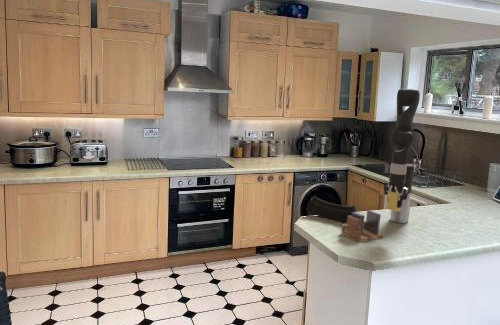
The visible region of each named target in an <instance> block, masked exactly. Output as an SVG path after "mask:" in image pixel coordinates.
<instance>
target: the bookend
mask: <svg viewBox="0 0 500 325" xmlns="http://www.w3.org/2000/svg"><path fill="white" fill-rule="evenodd" d="M381 218H382V216H381V214H380V213H377V212H375V211H372V210H367V211H366V218H365V219H366V220H365V221H366V227H365V229H367V230H369V231H371V232H373V233H376V234H379V233H380V225H381Z"/></svg>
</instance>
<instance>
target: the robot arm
mask: <svg viewBox="0 0 500 325" xmlns="http://www.w3.org/2000/svg"><path fill="white" fill-rule="evenodd" d="M420 96H421V94H420V91H419V89H417V88H399V89H398V91H397V92H396V126H395V128H394V129H393V131H392V133H391V135H390V137H389V141H390V144H392V145H393V146H395V148H394V151H392V154H391V164H390V170H389V177H388V178H389V179H388V180H389V182H384V183H383V192H384V195H385V196H386V203H387V202H388V194H389V191H392V192H395V193H397V194H398V203H397V207H398V208H401V211H396V212H395V211H392V210H390V217H389V220H390V221H391V222H394V223H398V224H406V223H407V222H409V220H410V219H409V218H410V209H411V204H410V203H411V202H410V201H411V196H412V195H411V194H412V193H411V192H412V187H413V181H414V176H415V166H414V165H413V164H410V163H408V159H409V158H408V156H409V153H410V149H411V147H412V146H413V143H414V140H415V136H414V135H415V134H414V133H415V130H414V127H413V122H414V117H415V115H416V113H417V110H418V106H419V103H420V98H421V97H420ZM404 107H408V108H406V109H404ZM399 193H401V194H399ZM400 195H401V198H400Z"/></svg>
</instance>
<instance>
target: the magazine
mask: <svg viewBox="0 0 500 325" xmlns="http://www.w3.org/2000/svg"><path fill="white" fill-rule="evenodd" d="M305 210H306V212H309V213H310V214H311V215H312V216H313V215H314V216H317V217H320V218H323V219H327V220H330V221H332V222H333V221H334V222H339V223H344V224H347V216H351V215H352V213H353V212H357V208H356V205H343V204H336V203H333V202H330V201H326V200H323V199H320V198H319V197H317V196H313V197H312V198H311V199H310V201H309V202H308V203H307V205H306V208H305Z"/></svg>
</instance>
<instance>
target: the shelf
mask: <svg viewBox="0 0 500 325" xmlns="http://www.w3.org/2000/svg"><path fill="white" fill-rule="evenodd" d="M365 227H366V220H365V215H364V214H361V213H359V212H357V211H356V212H353V213H352V215H351V216H347V223H343V224H342V225H341V233H340V235H343V236H345V237H347V238H349V239H350V240H353V241H355V242H356V243H361V242H366V241H371V240H378V239H383V238H384V234H382V233H380V232H379V234H376V233H373V232H371V231H369V230H367V229H365Z"/></svg>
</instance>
